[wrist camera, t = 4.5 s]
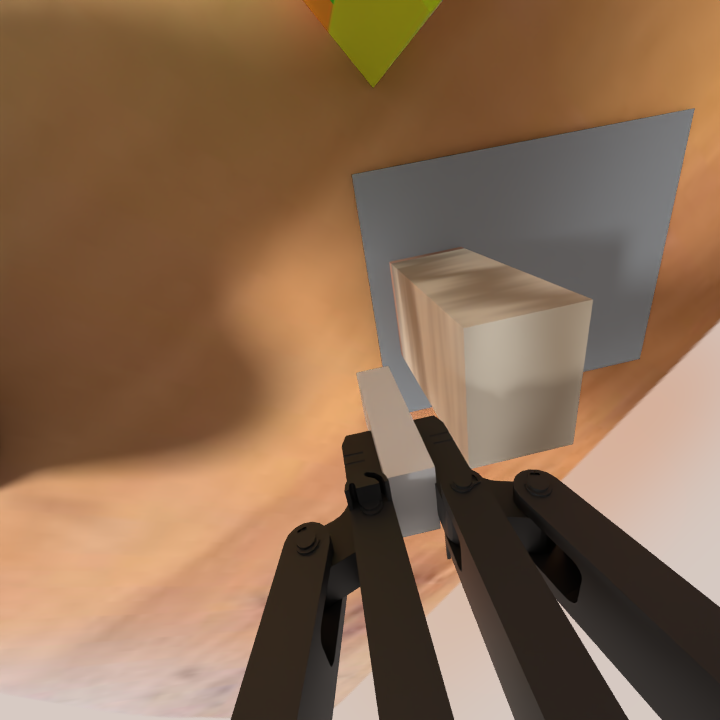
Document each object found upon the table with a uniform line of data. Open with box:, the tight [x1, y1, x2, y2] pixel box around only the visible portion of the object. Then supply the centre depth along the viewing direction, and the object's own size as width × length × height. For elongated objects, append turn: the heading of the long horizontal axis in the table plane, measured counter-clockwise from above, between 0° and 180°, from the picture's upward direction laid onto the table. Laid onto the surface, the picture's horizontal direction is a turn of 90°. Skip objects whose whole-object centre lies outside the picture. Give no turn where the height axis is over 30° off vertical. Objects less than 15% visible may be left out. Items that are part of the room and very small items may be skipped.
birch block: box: [389, 247, 593, 469], centre depth 20 cm, size 5×7×12 cm
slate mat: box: [352, 108, 695, 412], centre depth 26 cm, size 22×18×1 cm
